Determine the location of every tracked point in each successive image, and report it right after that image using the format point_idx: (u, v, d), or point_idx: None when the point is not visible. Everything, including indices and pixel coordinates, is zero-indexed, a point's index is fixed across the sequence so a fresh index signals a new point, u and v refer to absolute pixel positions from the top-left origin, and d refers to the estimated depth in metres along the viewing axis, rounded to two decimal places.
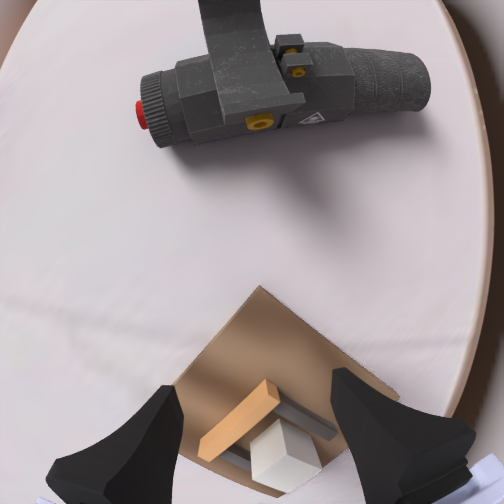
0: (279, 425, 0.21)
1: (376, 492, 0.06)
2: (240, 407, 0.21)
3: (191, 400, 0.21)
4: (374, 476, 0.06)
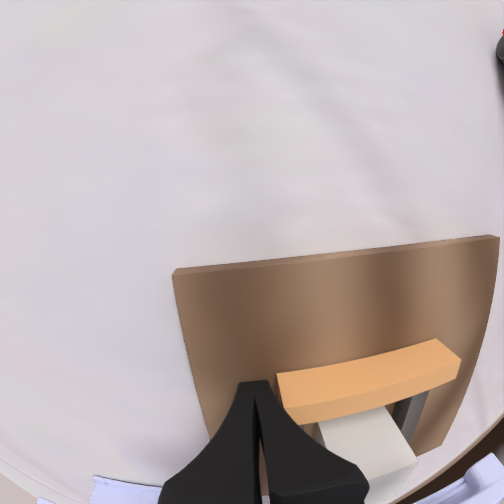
0: (387, 414, 0.12)
1: None
2: (394, 358, 0.12)
3: (334, 303, 0.12)
4: None
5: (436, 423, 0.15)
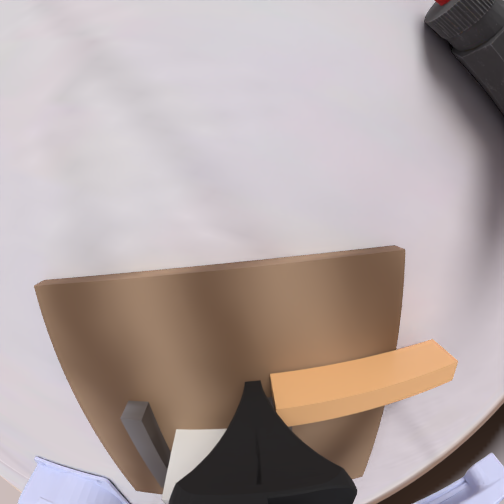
0: None
1: None
2: (389, 359, 0.12)
3: (155, 321, 0.12)
4: None
5: (342, 455, 0.14)
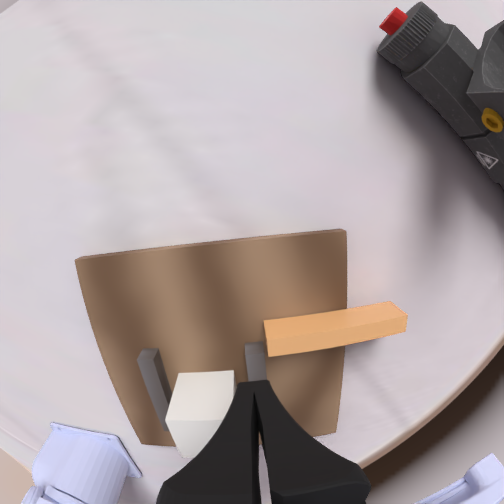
0: (231, 379, 0.18)
1: None
2: (352, 312, 0.17)
3: (167, 281, 0.17)
4: None
5: (313, 405, 0.20)
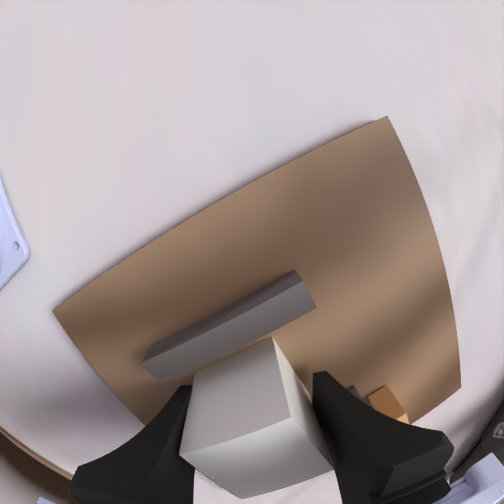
0: (312, 405, 0.12)
1: (352, 499, 0.06)
2: None
3: (410, 269, 0.12)
4: (349, 483, 0.06)
5: None
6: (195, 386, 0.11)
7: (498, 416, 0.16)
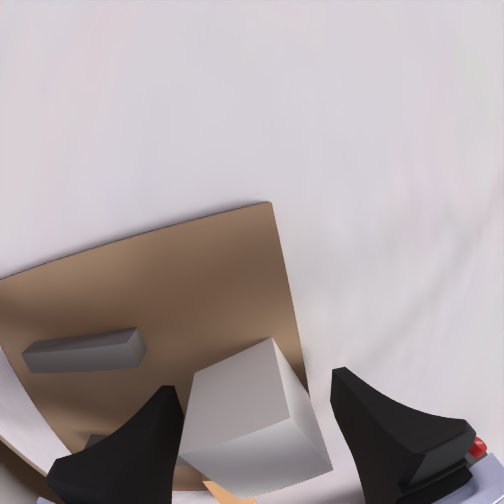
0: (311, 405, 0.12)
1: (376, 492, 0.06)
2: None
3: None
4: (374, 476, 0.06)
5: None
6: (194, 386, 0.11)
7: None
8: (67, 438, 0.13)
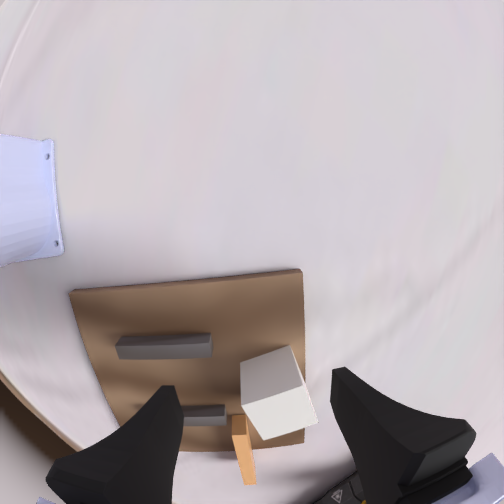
0: (306, 388, 0.20)
1: (376, 492, 0.06)
2: (252, 456, 0.22)
3: None
4: (374, 476, 0.06)
5: None
6: (242, 370, 0.19)
7: (341, 484, 0.26)
8: (120, 408, 0.21)
